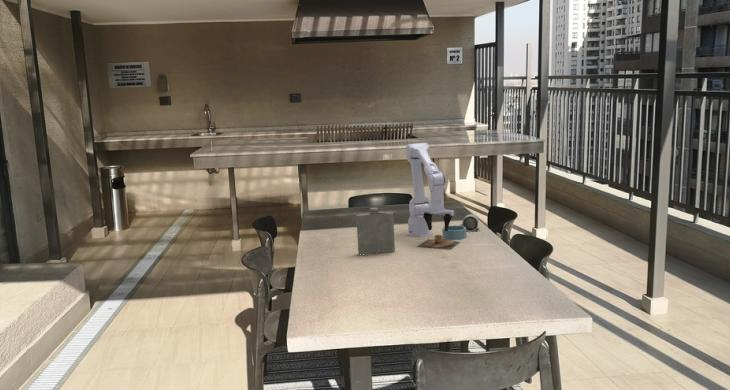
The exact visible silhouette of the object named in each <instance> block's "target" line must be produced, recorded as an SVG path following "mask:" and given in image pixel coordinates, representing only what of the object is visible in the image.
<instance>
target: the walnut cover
mask: <svg viewBox="0 0 730 390" xmlns="http://www.w3.org/2000/svg"><path fill="white" fill-rule="evenodd" d="M427 240H428V239H427ZM453 241H454V240H448V239H444V238H443V237H442V234H435V235H434V239H430V240H428V241H426V240H425V241H423V242H424V246H426V247H430V248H429V249H434V248H446V247H450V246H452V245H453Z"/></svg>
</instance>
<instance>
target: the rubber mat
mask: <svg viewBox="0 0 730 390" xmlns="http://www.w3.org/2000/svg"><path fill="white" fill-rule="evenodd" d="M428 240H431V239H430V238H429V239H427V240H425V241H428ZM425 241H423V242H422V243H420V244H418V245H417V246H416V248H424V249H431V248H430V247H426V246H424V242H425ZM452 241H453V245H452V246H450V247H446V248H433V249H435V250H436V249H437V250H446V251H447V250H450V251H451V250H452V249H454V248H455V247H457V246H458V245H459V244H460V243H461V241H458V240H452Z"/></svg>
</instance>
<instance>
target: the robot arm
mask: <svg viewBox="0 0 730 390" xmlns="http://www.w3.org/2000/svg"><path fill="white" fill-rule="evenodd" d="M405 154H406V159H407V160H406V161H407V162H408V163H410V168H411V177H412V187H413V194H414V195H413V197H412V198H411V199H410V200H409V204H408V205H409V206H408V208H409V209H408V211H409V215H410V216H409V218H408V221H407V227H408V230H407V231H408V232H407V233H408V234H407V236H411V237H428V236H430V235H431V234H432V233H433V232H432V230H433V222H432V221H433V215H442V216H443V215H444V216H443V221H444V222H443V223H444V227H445V231H448V227H449V226H450V223H451V221H452V218H453V216H454V215H455V210H453V209H446V208H445V198H444V186H445V185H446V176H445V173H444V172H442V171H440V170H439V169H438V166H437V165H436V163H435V162H434V161H432V160H431V157H430V146H429V143H428V142H419V143H408V144H407V145H406V149H405ZM422 164H423V170H424V174H425V175H426V177H427V185H428V189H429V191H430V198H428V197H427V196H426V195H425V188H424V187H425V186H424V179H423V170H422Z"/></svg>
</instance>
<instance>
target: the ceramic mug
mask: <svg viewBox="0 0 730 390" xmlns="http://www.w3.org/2000/svg"><path fill="white" fill-rule="evenodd" d="M458 226H464V227H466V232H474V231H476V230H477V229H478V227H479V218H478V217H477V215H475V214H467V215H466V216H464V218H463V220H462V222H461V224H459V225H458Z"/></svg>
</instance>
